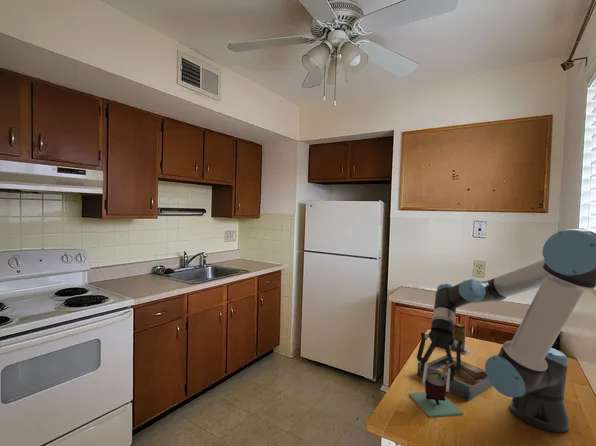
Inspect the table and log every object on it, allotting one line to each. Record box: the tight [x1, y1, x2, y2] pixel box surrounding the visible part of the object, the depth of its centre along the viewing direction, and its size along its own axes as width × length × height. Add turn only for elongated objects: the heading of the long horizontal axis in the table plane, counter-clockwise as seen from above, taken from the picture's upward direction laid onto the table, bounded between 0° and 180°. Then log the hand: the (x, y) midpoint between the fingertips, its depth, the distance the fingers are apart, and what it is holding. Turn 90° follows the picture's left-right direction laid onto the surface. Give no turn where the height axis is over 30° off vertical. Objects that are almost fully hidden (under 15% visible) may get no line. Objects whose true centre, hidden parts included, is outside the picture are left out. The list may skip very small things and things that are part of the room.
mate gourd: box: [424, 362, 456, 405], centre depth 107 cm, size 8×8×15 cm
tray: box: [416, 355, 493, 402], centre depth 125 cm, size 20×22×5 cm
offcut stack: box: [445, 357, 483, 385], centre depth 128 cm, size 14×4×5 cm, turn 23°
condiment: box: [449, 322, 472, 355], centre depth 152 cm, size 7×8×12 cm
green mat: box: [408, 391, 464, 418], centre depth 107 cm, size 12×12×1 cm
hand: (435, 386), depth 104 cm, fingers closed on mate gourd, 6 cm apart
